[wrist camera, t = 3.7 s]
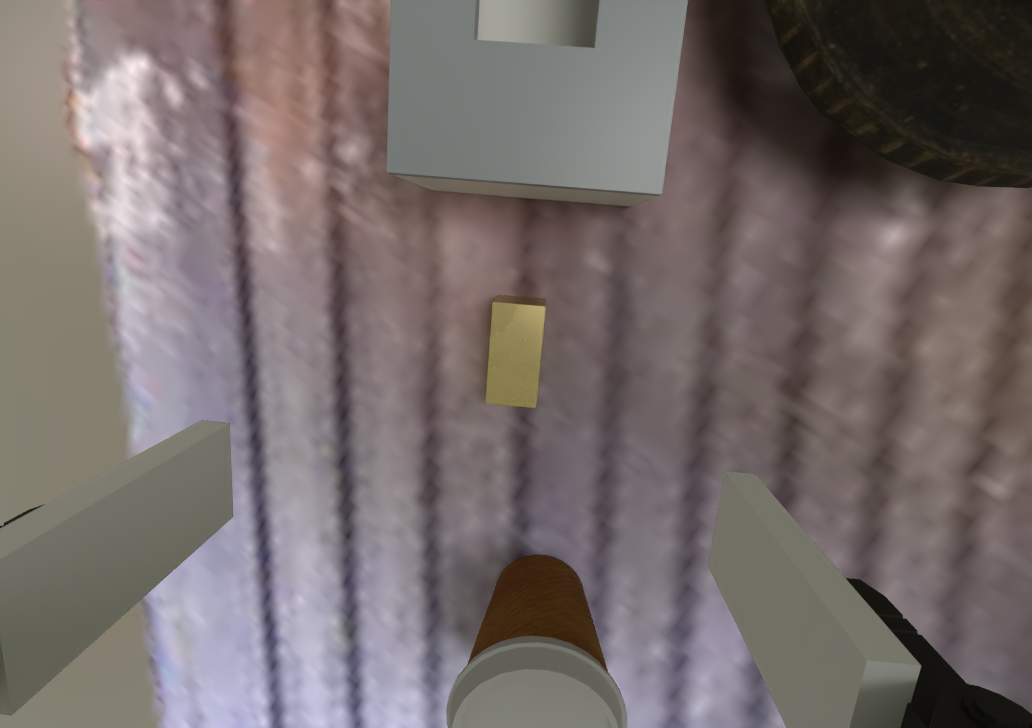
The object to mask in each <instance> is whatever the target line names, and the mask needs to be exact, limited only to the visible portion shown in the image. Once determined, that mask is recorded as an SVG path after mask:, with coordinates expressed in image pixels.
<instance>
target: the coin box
mask: <svg viewBox="0 0 1032 728" xmlns="http://www.w3.org/2000/svg"><path fill="white" fill-rule="evenodd" d="M687 4H688V0H391V26H390V62H389V98H388V134H387V170H386V172H387V173H389V174H392V175H395V176H397V177H400V178H402V179H405V180H407V181H410V182H412V183H415V184H417V185H420V186H422V187H425V188H427V189H430V190H433V191H444V192H457V193H469V194H481V195H494V196H506V197H518V198H531V199H543V200H555V201H568V202H580V203H592V204H605V205H617V206H629V207H630V206H632V205H635V204H638V203H640V202H643V201H646V200H648V199H651V198H654V197H656V196H659V195H662V190H663V183H664V175H665V168H666V160H667V153H668V145H669V138H670V131H671V123H672V116H673V108H674V101H675V93H676V86H677V78H678V71H679V64H680V56H681V49H682V41H683V34H684V26H685V19H686V12H687Z"/></svg>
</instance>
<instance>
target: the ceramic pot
mask: <svg viewBox="0 0 1032 728" xmlns="http://www.w3.org/2000/svg"><path fill="white" fill-rule="evenodd" d="M765 3H766V6H767V9H768V12H769V15H770V18H771V21H772V24H773V27H774V30H775V33H776V36H777V39H778V42H779V45H780V48H781V50H782V52H783V54H784V56H785V58H786V60H787V62H788V64H789V66H790V68H791V70H792V72H793V74H794V76H795V78H796V80H797V81H798V83H799V85H800V86H801V88H802V89H803V90H804V92H805V93H806V94H807V96H808V97H809V98H810V100H811V101H812V102H813V104H814V105H815V106H816V107H817V109H818V110H819V111H820V112H821V113H822V114H823V115H825V116H826V117H827V118H829V119H830V120H832V121H833V122H834V123H836V124H837V125H839V126H840V127H841V128H843V129H844V130H846V131H847V132H848V133H850V134H851V135H853V136H854V137H855V138H857V139H858V140H860V141H861V142H862V143H864V144H865V145H867V146H868V147H869V148H871V149H872V150H874V151H875V152H876V153H878V154H879V155H881V156H882V157H883V158H885V159H886V160H888V161H891V162H893V163H896V164H898V165H901V166H904V167H906V168H909V169H911V170H914V171H917V172H919V173H922V174H925V175H927V176H930V177H932V178H935V179H938V180H940V181H947V182H954V183H960V184H967V185H974V186H988V187H1013V188H1030V187H1032V0H765Z"/></svg>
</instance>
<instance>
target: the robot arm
mask: <svg viewBox="0 0 1032 728" xmlns="http://www.w3.org/2000/svg"><path fill="white" fill-rule="evenodd" d="M232 517H233V496H232V469H231V442H230V423H225V422H214V421H204V420H201V421H200V422H198V423H196V424H194V425H192V426H190V427H188V428H186V429H185V430H183V431H181V432H179V433H177V434H175V435H173V436H172V437H170V438H168V439H166V440H164V441H162V442H160V443H159V444H157V445H155V446H153V447H151V448H149V449H147V450H145V451H144V452H142V453H140V454H138V455H136V456H134V457H132V458H131V459H129V460H127V461H125V462H123V463H121V464H120V465H118V466H116V467H114V468H112V469H110V470H108V471H106V472H105V473H103V474H101V475H99V476H97V477H95V478H93V479H91V480H90V481H88V482H86V483H84V484H82V485H80V486H78V487H77V488H75V489H73V490H71V491H69V492H68V493H65V494H63V495H62V496H60V497H58V498H56V499H54V500H52V501H50V502H49V503H47V504H44V505H41V506H39V507H35V508H33V509H30V510H28V511H26V512H24V513H22V514H20V515H18V516H16V517H15V518H13V519H11V520H9V521H7V522H5V523H4V525H3V526H0V714H4V715H13V714H14V713H15V712H16V711H17V710H18V709H19V708H20V707H22V706H23V705H24V704H25V703H26V702H27V701H28V700H29V699H31V698H32V697H33V696H34V695H35V694H36V693H37V692H39V691H40V690H41V689H42V688H43V687H44V686H45V685H46V684H47V683H49V682H50V681H51V680H52V679H53V678H54V677H55V676H56V675H57V674H59V672H61V671H62V670H63V669H64V668H65V667H66V666H67V665H69V664H70V663H71V662H72V661H73V660H74V659H75V658H76V657H77V656H79V655H80V654H81V653H82V652H83V651H84V650H85V649H86V648H88V647H89V646H90V645H91V644H92V643H93V642H94V641H95V640H96V639H98V638H99V637H100V636H101V635H102V634H103V633H104V632H105V631H106V630H108V629H109V628H110V627H111V626H112V625H113V624H114V623H115V622H116V621H118V620H119V619H120V618H121V617H122V616H123V615H124V614H125V613H126V612H128V611H129V610H130V609H131V608H132V607H133V606H134V605H135V604H137V603H138V602H139V601H140V600H141V599H142V598H143V597H144V596H145V595H147V594H148V593H149V592H150V591H151V590H152V589H153V588H154V587H156V586H157V585H158V584H159V583H160V582H161V581H162V580H163V579H164V578H166V577H167V576H168V575H169V574H170V573H171V572H172V571H173V570H174V569H176V568H177V567H178V566H179V565H180V564H181V563H182V562H183V561H184V560H186V559H187V558H188V557H189V556H190V555H191V554H192V553H193V552H195V551H196V550H197V549H198V548H199V547H200V546H201V545H202V544H203V543H205V542H206V541H207V540H208V539H209V538H210V537H211V536H212V535H213V534H215V533H216V532H217V531H218V530H219V529H220V528H221V527H222V526H223V525H225V524H226V523H227V522H228V521H229V520H230V519H231V518H232ZM708 567H709V569H710V571H711V573H712V575H713V577H714V579H715V581H716V583H717V585H718V587H719V589H720V591H721V593H722V595H723V597H724V599H725V601H726V604H727V606H728V608H729V610H730V612H731V614H732V616H733V618H734V620H735V622H736V624H737V626H738V628H739V630H740V632H741V634H742V636H743V639H744V641H745V643H746V645H747V647H748V649H749V651H750V653H751V655H752V657H753V659H754V661H755V663H756V665H757V667H758V669H759V671H760V673H761V676H762V678H763V680H764V682H765V684H766V686H767V688H768V690H769V692H770V694H771V696H772V698H773V700H774V702H775V704H776V706H777V708H778V711H779V713H780V715H781V717H782V719H783V721H784V723H785V725H786V727H787V728H1032V714H1031V713H1029V712H1028V711H1027V710H1025V709H1024V708H1023V707H1022V706H1020V705H1018V704H1016V703H1014V702H1013V701H1011V700H1009V699H1007V698H1005V697H1004V696H1002V695H1000V694H997V693H995V692H992V691H990V690H987V689H984V688H982V687H979V686H975V685H969V684H966V682H965V681H964V680H963V679H962V678H961V677H960V676H959V675H958V674H957V673H956V672H955V671H954V670H953V669H952V667H951V666H950V665H949V664H948V663H947V662H946V661H945V660H944V659H943V658H942V657H941V656H940V655H939V654H938V652H937V651H936V650H935V649H934V648H933V647H932V646H931V645H930V644H929V643H928V642H927V641H926V640H925V639H924V638H923V636H922V635H918V633H917V630H916V629H915V628H914V627H913V626H912V625H911V624H910V623H909V621H908V620H907V619H903V615H902V614H901V613H900V612H899V611H898V610H897V609H896V608H895V606H894V605H893V604H892V603H891V602H890V601H889V600H888V599H887V598H886V597H885V596H884V595H882V594H881V593H879V592H878V591H876V590H875V589H873V588H872V587H870V586H869V585H867V584H866V583H864V582H863V581H861V580H859V579H849V578H845V577H844V576H843V575H842V574H841V573H840V572H839V570H838V569H837V568H836V567H835V566H834V565H833V563H832V562H831V561H830V560H829V559H828V558H827V557H826V555H825V554H824V553H823V552H822V551H821V550H820V548H819V547H818V546H817V545H816V544H815V543H814V542H813V540H812V539H811V538H810V537H809V536H808V535H807V534H806V532H805V531H804V530H803V529H802V528H801V527H800V525H799V524H798V523H797V522H796V521H795V520H794V519H793V517H792V516H791V515H790V514H789V513H788V512H787V510H786V509H785V508H784V507H783V506H782V505H781V504H780V502H779V501H778V500H777V499H776V498H775V497H774V495H773V494H772V493H771V492H770V491H769V490H768V489H767V487H766V486H765V485H764V484H763V483H762V482H761V481H760V479H759V478H758V477H757V476H756V475H755V474H749V473H739V472H728V471H725V474H724V480H723V486H722V491H721V497H720V502H719V508H718V513H717V519H716V525H715V530H714V536H713V541H712V547H711V552H710V558H709V564H708Z"/></svg>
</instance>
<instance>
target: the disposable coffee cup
mask: <svg viewBox="0 0 1032 728" xmlns="http://www.w3.org/2000/svg"><path fill="white" fill-rule="evenodd" d="M446 711H447V726H448V728H627V713H626V708H625V704H624V700H623V698H622V695H621V692H620V690H619V688H618V686H617V685H616V683H615V682H614V680H613V678H612V677H611V676H610V674H609V673H608V670H607V667H606V664H605V660H604V657H603V653H602V651H601V647H600V644H599V640H598V637H597V633H596V631H595V627H594V624H593V620H592V617H591V614H590V611H589V607H588V603H587V601H586V597H585V594H584V590H583V586H582V583H581V581H580V579H579V577H578V575H577V574H576V572H575V571H574V570H573V569H572V568H571V567H570V566H568V565H567V564H566V563H564V562H563V561H561V560H558V559H556V558H553V557H549V556H543V555H534V556H527V557H524V558H521V559H518V560H516V561H514V562H513V563H511V564H510V565H509V566H508V567H506V569H505V570H504V571H503V572H502V573H501V575H500V577H499V579H498V581H497V585H496V587H495V590H494V593H493V596H492V598H491V601H490V604H489V607H488V609H487V612H486V615H485V618H484V620H483V623H482V625H481V628H480V630H479V634H478V636H477V639H476V642H475V644H474V648H473V650H472V653H471V656H470V659H469V662H468V664H467V666H466V667H465V668H464V669H463V671H462V672H461V673H460V674H459V676H458V677H457V679H456V681H455V683H454V685H453V688H452V690H451V692H450V694H449V699H448V704H447V709H446Z"/></svg>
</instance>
